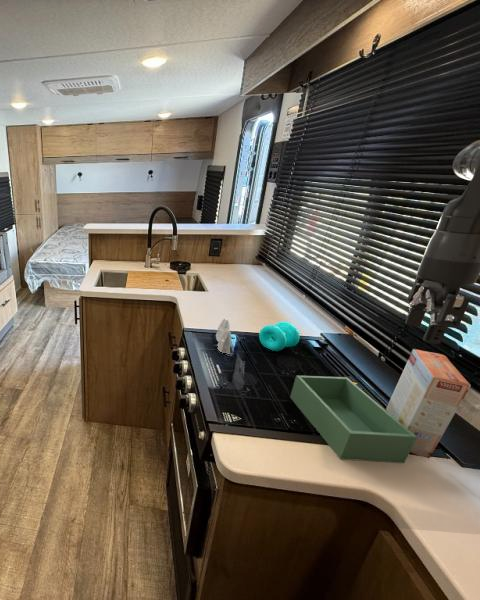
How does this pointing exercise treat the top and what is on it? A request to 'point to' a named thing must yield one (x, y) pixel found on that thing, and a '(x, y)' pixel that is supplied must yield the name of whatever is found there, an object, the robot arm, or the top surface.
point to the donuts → (279, 336)
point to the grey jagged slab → (224, 337)
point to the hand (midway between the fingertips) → (420, 333)
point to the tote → (351, 420)
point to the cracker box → (427, 398)
